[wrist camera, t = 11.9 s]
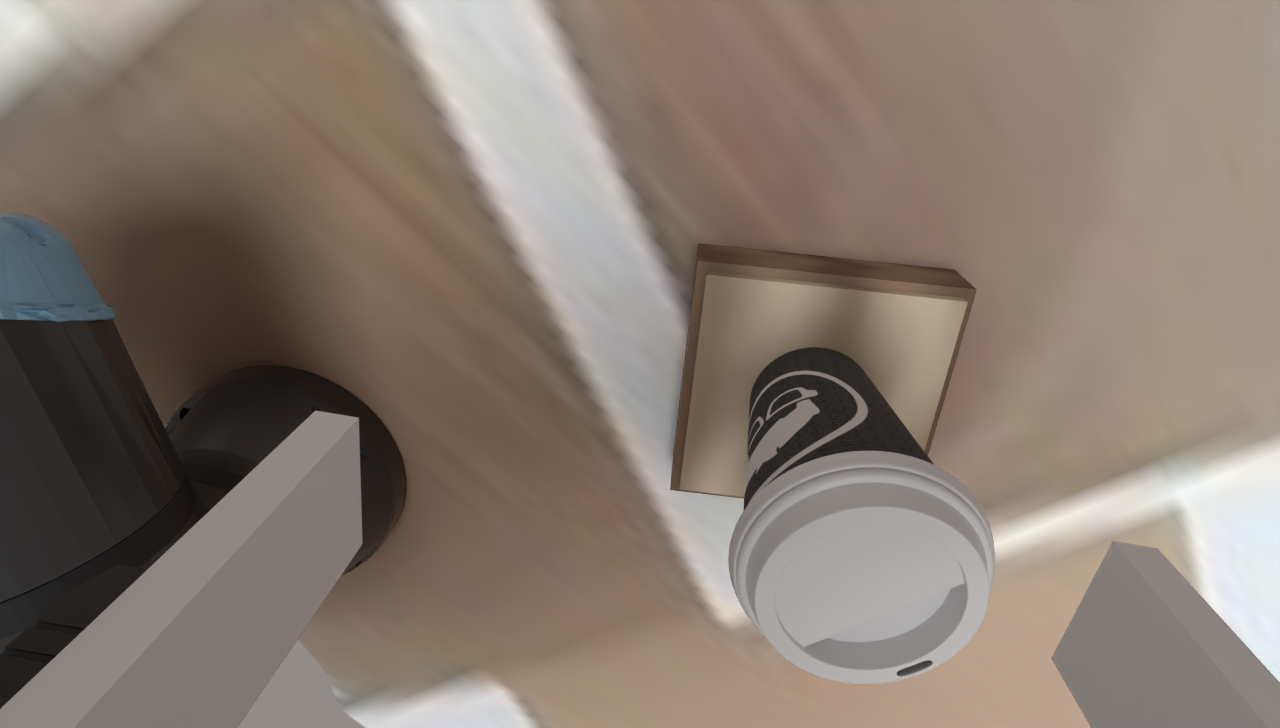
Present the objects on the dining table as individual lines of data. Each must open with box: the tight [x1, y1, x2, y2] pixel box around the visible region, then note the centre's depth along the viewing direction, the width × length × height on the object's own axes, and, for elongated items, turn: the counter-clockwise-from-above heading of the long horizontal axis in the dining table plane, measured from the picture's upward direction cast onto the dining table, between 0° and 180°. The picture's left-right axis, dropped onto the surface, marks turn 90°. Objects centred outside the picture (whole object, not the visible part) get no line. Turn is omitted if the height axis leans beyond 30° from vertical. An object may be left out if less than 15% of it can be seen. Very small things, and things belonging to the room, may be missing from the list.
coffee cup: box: [729, 347, 995, 684], centre depth 31 cm, size 10×10×15 cm
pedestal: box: [670, 244, 977, 498], centre depth 40 cm, size 14×14×4 cm
